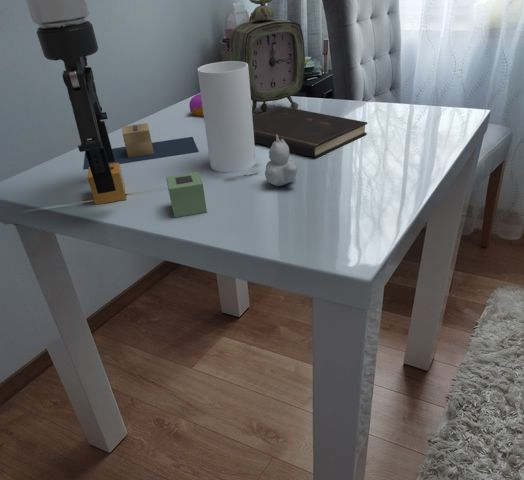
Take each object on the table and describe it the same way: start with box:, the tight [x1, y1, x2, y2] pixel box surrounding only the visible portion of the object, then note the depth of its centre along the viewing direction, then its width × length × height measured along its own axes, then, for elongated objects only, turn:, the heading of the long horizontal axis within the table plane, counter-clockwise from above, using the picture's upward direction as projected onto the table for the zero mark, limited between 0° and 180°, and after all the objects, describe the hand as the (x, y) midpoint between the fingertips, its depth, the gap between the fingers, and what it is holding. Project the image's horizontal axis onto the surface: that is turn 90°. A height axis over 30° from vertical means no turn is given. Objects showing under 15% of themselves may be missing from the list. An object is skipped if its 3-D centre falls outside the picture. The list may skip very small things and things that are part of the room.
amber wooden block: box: [87, 163, 127, 205], centre depth 83 cm, size 5×5×5 cm
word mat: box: [82, 136, 200, 171], centre depth 100 cm, size 22×10×1 cm, turn 103°
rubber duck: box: [264, 134, 298, 187], centre depth 81 cm, size 5×7×8 cm
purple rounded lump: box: [189, 93, 204, 117], centre depth 117 cm, size 10×10×5 cm
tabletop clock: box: [228, 0, 306, 117], centre depth 108 cm, size 14×9×25 cm, turn 118°
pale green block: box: [165, 171, 208, 218], centre depth 77 cm, size 5×5×5 cm
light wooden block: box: [121, 122, 154, 158], centre depth 98 cm, size 5×5×5 cm
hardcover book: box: [252, 105, 369, 159], centre depth 101 cm, size 16×23×2 cm
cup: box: [197, 60, 257, 173], centre depth 86 cm, size 8×8×16 cm
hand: (107, 176), depth 82 cm, fingers open, 13 cm apart
